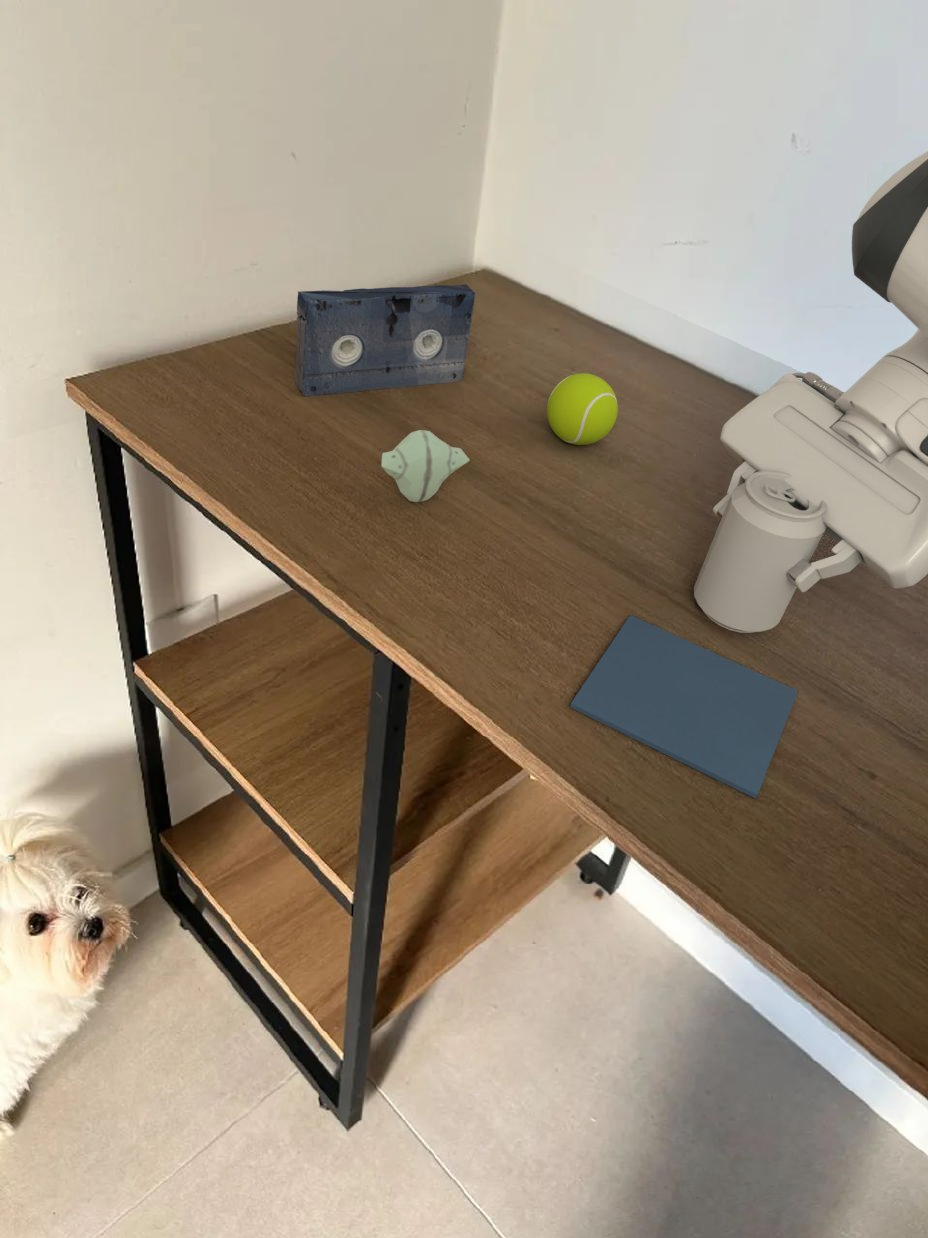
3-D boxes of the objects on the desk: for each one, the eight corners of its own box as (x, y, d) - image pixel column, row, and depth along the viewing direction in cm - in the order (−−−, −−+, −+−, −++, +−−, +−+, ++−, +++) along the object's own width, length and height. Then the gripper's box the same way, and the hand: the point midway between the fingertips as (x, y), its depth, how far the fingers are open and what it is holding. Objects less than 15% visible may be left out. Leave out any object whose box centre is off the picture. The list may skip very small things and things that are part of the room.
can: (787, 645, 76) (849, 525, 68) (698, 633, 75) (749, 512, 67) (767, 586, 81) (821, 470, 73) (683, 575, 81) (729, 457, 73)
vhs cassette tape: (454, 370, 103) (467, 282, 96) (465, 383, 101) (479, 294, 95) (292, 382, 96) (295, 288, 89) (301, 397, 94) (304, 302, 87)
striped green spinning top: (378, 516, 81) (385, 449, 76) (366, 489, 83) (372, 423, 79) (465, 509, 83) (476, 444, 79) (450, 483, 86) (460, 419, 82)
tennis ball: (621, 448, 96) (639, 386, 91) (574, 465, 92) (590, 401, 87) (574, 416, 99) (589, 355, 95) (527, 431, 95) (540, 368, 91)
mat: (795, 695, 71) (798, 690, 71) (755, 799, 63) (757, 794, 62) (628, 619, 75) (630, 614, 75) (569, 707, 67) (570, 702, 66)
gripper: (789, 340, 75) (662, 461, 77) (998, 476, 63) (840, 616, 65) (807, 384, 80) (687, 496, 82) (1004, 518, 68) (856, 647, 70)
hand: (755, 550), depth 74 cm, fingers closed on can, 7 cm apart
